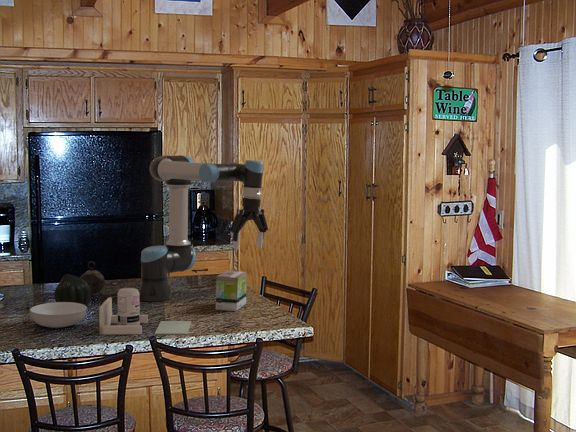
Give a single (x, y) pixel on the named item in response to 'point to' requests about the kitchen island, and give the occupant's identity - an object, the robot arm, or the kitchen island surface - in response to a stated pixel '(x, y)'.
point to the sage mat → (173, 327)
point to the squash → (72, 290)
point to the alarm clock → (94, 280)
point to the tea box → (231, 290)
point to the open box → (116, 321)
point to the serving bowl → (58, 314)
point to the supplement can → (128, 307)
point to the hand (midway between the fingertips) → (247, 248)
